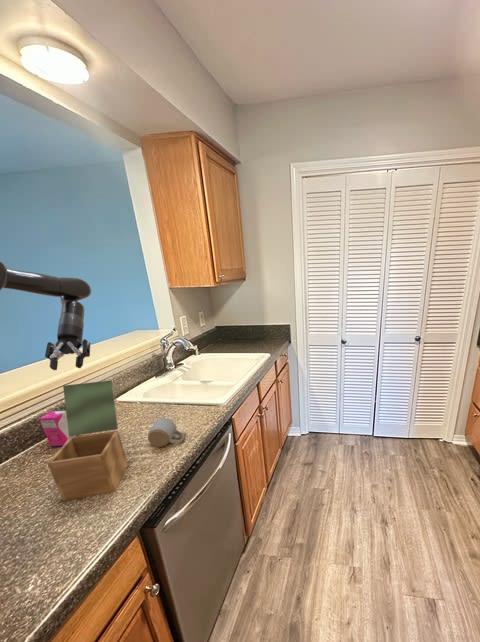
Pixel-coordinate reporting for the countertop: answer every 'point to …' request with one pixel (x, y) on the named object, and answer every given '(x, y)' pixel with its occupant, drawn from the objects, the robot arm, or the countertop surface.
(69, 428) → the lid
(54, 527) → the countertop surface
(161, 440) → the ceramic mug
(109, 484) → the chest
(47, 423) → the supplement box
